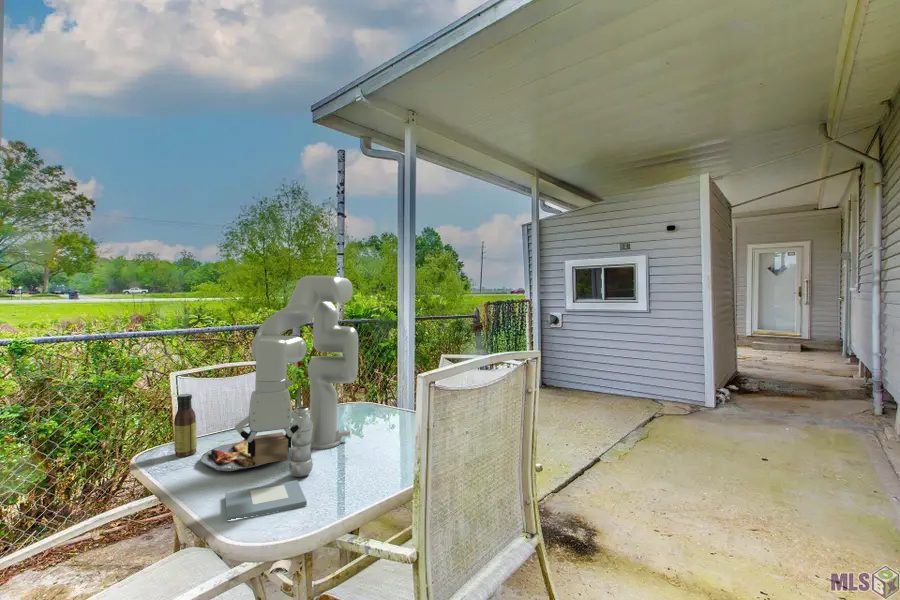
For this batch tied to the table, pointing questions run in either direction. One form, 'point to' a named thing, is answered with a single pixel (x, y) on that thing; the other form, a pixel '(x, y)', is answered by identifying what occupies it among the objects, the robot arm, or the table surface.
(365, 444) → the table surface
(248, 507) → the board
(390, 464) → the table surface
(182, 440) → the sauce bottle
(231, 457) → the food plate
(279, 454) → the block
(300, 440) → the plastic bottle
